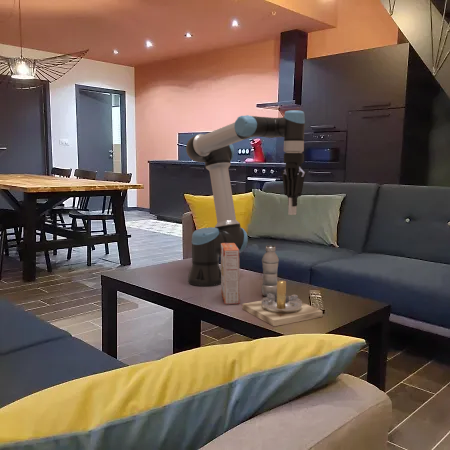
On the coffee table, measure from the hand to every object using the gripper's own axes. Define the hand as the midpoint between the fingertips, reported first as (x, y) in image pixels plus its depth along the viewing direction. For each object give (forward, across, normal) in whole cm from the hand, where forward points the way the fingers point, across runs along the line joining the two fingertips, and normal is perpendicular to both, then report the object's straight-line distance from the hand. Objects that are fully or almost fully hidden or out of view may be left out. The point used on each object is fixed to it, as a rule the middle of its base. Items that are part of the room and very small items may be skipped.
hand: (292, 214), depth 182 cm
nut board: (+32, -15, +15) cm, 39 cm away
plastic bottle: (+33, +4, +7) cm, 34 cm away
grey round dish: (+30, -16, +16) cm, 37 cm away
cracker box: (+33, +8, +23) cm, 41 cm away
